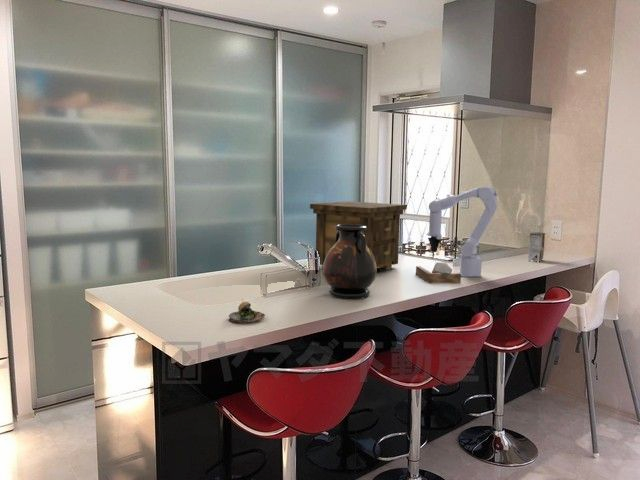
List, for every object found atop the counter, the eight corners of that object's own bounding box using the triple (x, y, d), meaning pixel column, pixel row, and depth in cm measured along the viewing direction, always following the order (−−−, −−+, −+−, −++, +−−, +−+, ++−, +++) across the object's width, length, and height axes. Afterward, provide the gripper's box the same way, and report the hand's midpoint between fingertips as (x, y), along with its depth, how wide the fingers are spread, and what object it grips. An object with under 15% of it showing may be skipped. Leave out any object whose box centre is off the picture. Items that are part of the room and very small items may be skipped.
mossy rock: (234, 327, 167) (234, 304, 166) (224, 317, 177) (224, 295, 176) (270, 323, 172) (270, 300, 171) (258, 314, 182) (258, 292, 181)
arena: (445, 274, 258) (446, 264, 258) (460, 282, 239) (461, 272, 239) (415, 274, 257) (416, 264, 256) (428, 282, 237) (429, 272, 237)
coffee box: (531, 259, 308) (533, 231, 306) (543, 260, 305) (545, 232, 302) (527, 261, 301) (529, 233, 299) (539, 262, 297) (541, 234, 295)
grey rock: (449, 283, 241) (457, 265, 243) (433, 273, 240) (441, 256, 243) (442, 285, 248) (450, 268, 251) (426, 276, 248) (434, 259, 251)
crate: (348, 260, 294) (349, 201, 289) (404, 268, 273) (406, 204, 268) (309, 268, 266) (310, 203, 262) (368, 278, 245) (370, 208, 241)
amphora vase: (387, 297, 208) (389, 227, 205) (342, 304, 197) (344, 229, 193) (355, 286, 226) (356, 222, 223) (312, 292, 215) (313, 224, 211)
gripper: (422, 223, 268) (421, 249, 270) (432, 226, 254) (430, 254, 256) (436, 223, 269) (435, 249, 271) (446, 226, 255) (444, 254, 257)
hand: (433, 251), depth 264 cm, fingers closed
